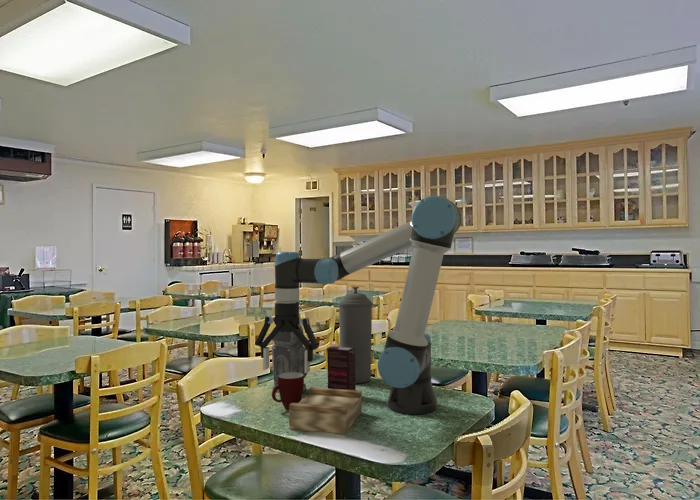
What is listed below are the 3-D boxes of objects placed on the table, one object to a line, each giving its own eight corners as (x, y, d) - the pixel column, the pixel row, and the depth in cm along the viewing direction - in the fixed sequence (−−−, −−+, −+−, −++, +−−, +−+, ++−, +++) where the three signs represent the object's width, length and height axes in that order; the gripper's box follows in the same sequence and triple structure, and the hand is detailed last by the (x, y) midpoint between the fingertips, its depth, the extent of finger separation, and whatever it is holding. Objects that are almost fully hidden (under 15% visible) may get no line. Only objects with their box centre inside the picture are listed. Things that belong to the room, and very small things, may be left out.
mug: (282, 415, 149) (282, 381, 149) (266, 409, 155) (265, 377, 154) (309, 407, 156) (309, 375, 156) (293, 401, 162) (292, 370, 162)
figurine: (296, 396, 168) (296, 321, 167) (265, 390, 176) (265, 318, 176) (314, 389, 176) (314, 318, 175) (284, 383, 184) (283, 315, 184)
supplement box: (356, 394, 170) (356, 347, 169) (349, 398, 165) (348, 350, 165) (334, 391, 174) (334, 345, 174) (326, 394, 170) (326, 347, 170)
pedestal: (361, 412, 151) (361, 390, 151) (345, 433, 134) (344, 409, 134) (311, 408, 156) (311, 387, 155) (289, 428, 138) (288, 404, 138)
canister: (334, 383, 183) (334, 287, 183) (344, 374, 196) (343, 285, 196) (368, 385, 180) (368, 288, 180) (376, 376, 192) (375, 285, 192)
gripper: (329, 301, 156) (328, 370, 156) (255, 298, 162) (255, 364, 162) (321, 304, 148) (320, 376, 149) (244, 301, 155) (244, 370, 155)
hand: (286, 370), depth 156 cm, fingers open, 13 cm apart
